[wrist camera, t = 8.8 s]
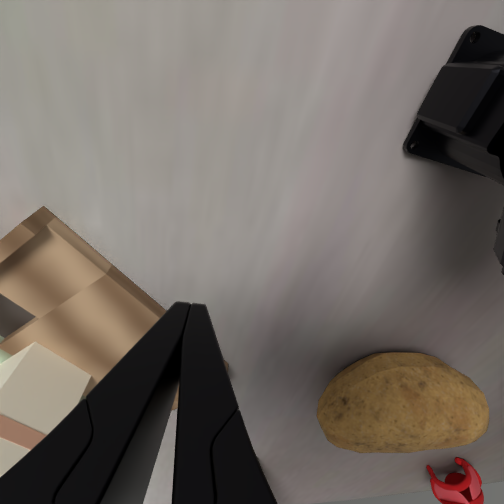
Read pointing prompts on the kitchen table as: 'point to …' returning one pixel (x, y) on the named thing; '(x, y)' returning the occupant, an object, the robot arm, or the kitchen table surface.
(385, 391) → the potato
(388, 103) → the kitchen table surface
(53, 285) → the tray
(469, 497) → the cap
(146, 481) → the robot arm
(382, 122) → the kitchen table surface
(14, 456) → the cream block
